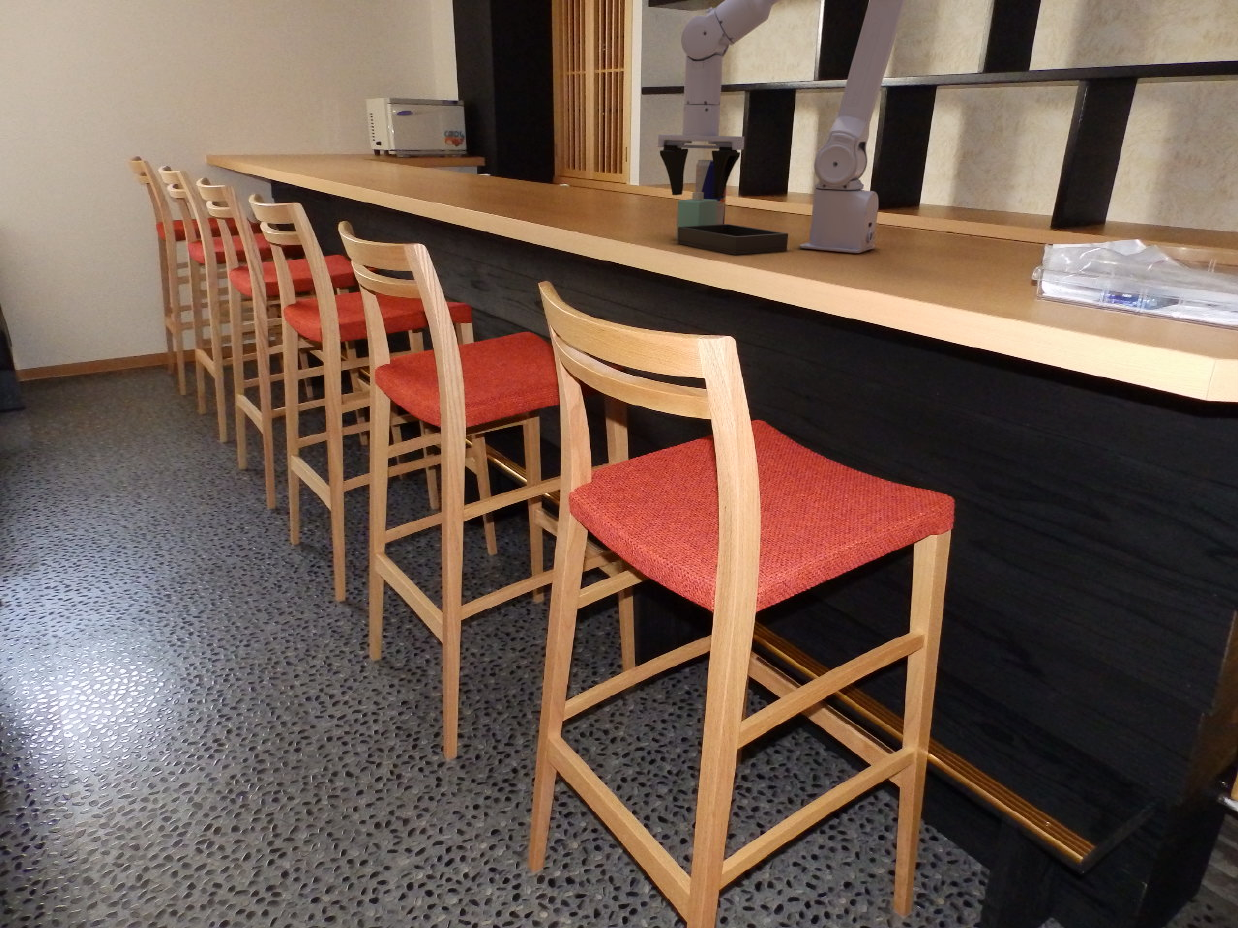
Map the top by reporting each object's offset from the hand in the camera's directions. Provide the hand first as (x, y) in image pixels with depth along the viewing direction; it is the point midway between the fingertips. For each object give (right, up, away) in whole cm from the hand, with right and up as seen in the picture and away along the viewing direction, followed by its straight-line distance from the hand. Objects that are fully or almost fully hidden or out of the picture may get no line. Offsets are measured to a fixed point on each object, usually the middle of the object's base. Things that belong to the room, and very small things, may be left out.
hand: (697, 196), depth 136 cm
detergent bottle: (0, -6, +2) cm, 7 cm away
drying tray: (+5, -10, -6) cm, 13 cm away
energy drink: (+3, -3, +12) cm, 12 cm away
